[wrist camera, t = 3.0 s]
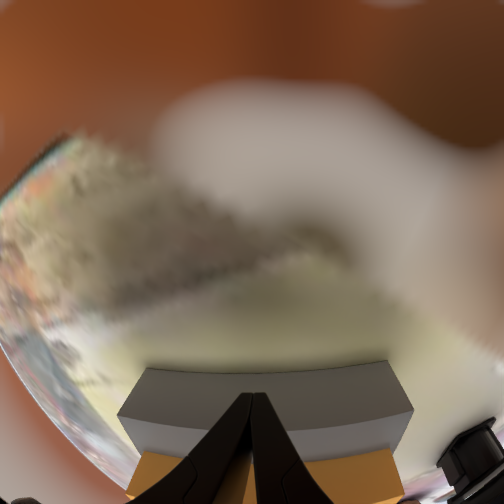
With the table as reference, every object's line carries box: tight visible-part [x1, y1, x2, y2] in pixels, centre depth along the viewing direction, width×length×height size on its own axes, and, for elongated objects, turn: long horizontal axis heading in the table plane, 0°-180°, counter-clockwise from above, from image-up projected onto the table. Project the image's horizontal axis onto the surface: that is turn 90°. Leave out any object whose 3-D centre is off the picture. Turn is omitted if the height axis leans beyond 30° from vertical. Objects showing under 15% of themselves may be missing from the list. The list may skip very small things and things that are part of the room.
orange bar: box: [125, 448, 405, 504], centre depth 10 cm, size 14×4×4 cm, turn 94°
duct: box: [117, 361, 414, 464], centre depth 15 cm, size 15×22×4 cm, turn 4°
